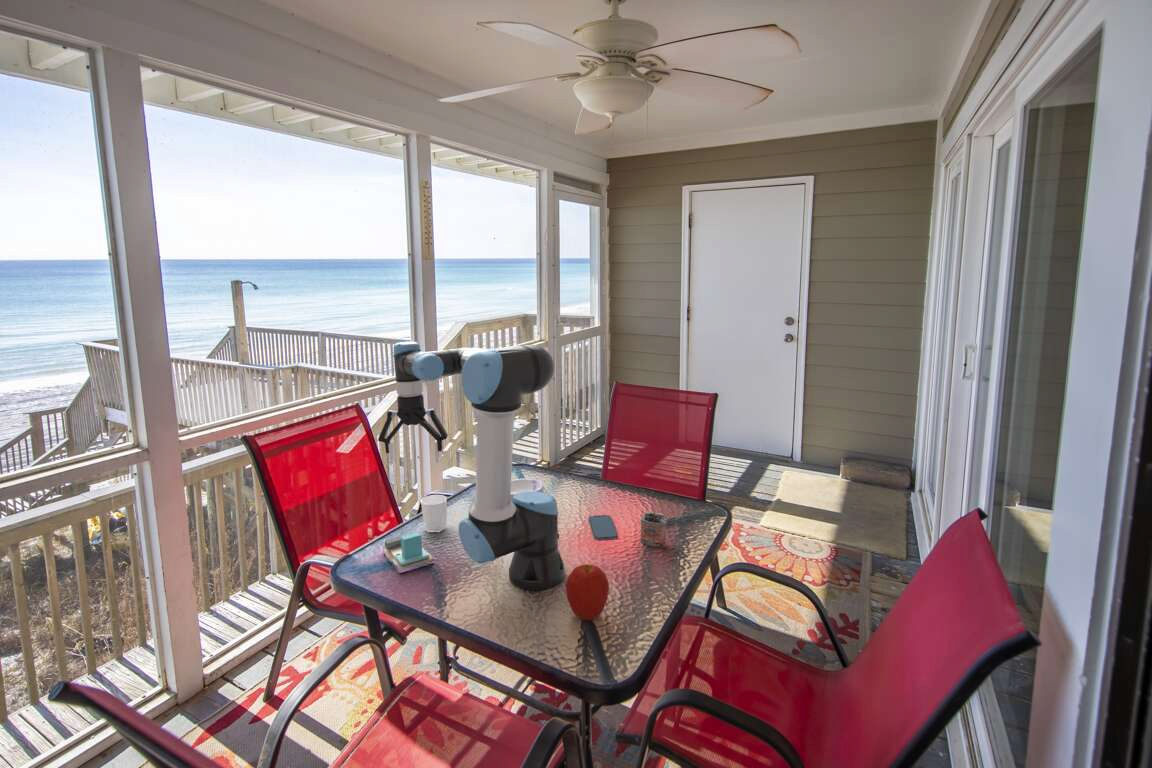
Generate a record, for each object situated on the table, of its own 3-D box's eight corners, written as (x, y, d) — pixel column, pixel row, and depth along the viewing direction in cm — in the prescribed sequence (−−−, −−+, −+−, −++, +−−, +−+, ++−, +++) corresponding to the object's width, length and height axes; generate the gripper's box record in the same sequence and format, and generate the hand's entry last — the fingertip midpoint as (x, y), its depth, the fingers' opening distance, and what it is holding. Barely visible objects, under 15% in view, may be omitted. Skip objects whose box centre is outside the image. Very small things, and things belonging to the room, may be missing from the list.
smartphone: (594, 537, 180) (588, 515, 194) (594, 542, 180) (588, 520, 195) (618, 536, 181) (610, 514, 195) (618, 541, 181) (610, 519, 196)
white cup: (433, 536, 183) (432, 506, 181) (417, 529, 188) (415, 500, 186) (453, 527, 190) (451, 498, 188) (437, 521, 194) (435, 492, 192)
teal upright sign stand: (429, 557, 167) (427, 535, 165) (401, 565, 162) (399, 543, 161) (422, 550, 171) (421, 528, 169) (395, 558, 166) (393, 536, 165)
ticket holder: (434, 563, 167) (433, 549, 166) (399, 574, 161) (398, 560, 160) (416, 544, 178) (415, 531, 177) (383, 554, 173) (382, 540, 172)
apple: (607, 603, 147) (607, 552, 144) (610, 627, 137) (610, 573, 134) (565, 604, 146) (564, 553, 144) (566, 629, 137) (565, 574, 134)
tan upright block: (638, 542, 178) (638, 512, 176) (642, 538, 181) (642, 507, 179) (663, 548, 174) (664, 517, 172) (667, 543, 177) (668, 512, 175)
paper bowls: (494, 503, 209) (493, 481, 207) (534, 495, 215) (534, 475, 213) (508, 519, 195) (507, 497, 193) (550, 511, 201) (550, 489, 200)
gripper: (454, 390, 179) (458, 456, 183) (370, 392, 178) (376, 459, 182) (450, 395, 172) (454, 464, 176) (363, 398, 170) (369, 467, 174)
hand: (415, 462), depth 179 cm, fingers open, 13 cm apart
